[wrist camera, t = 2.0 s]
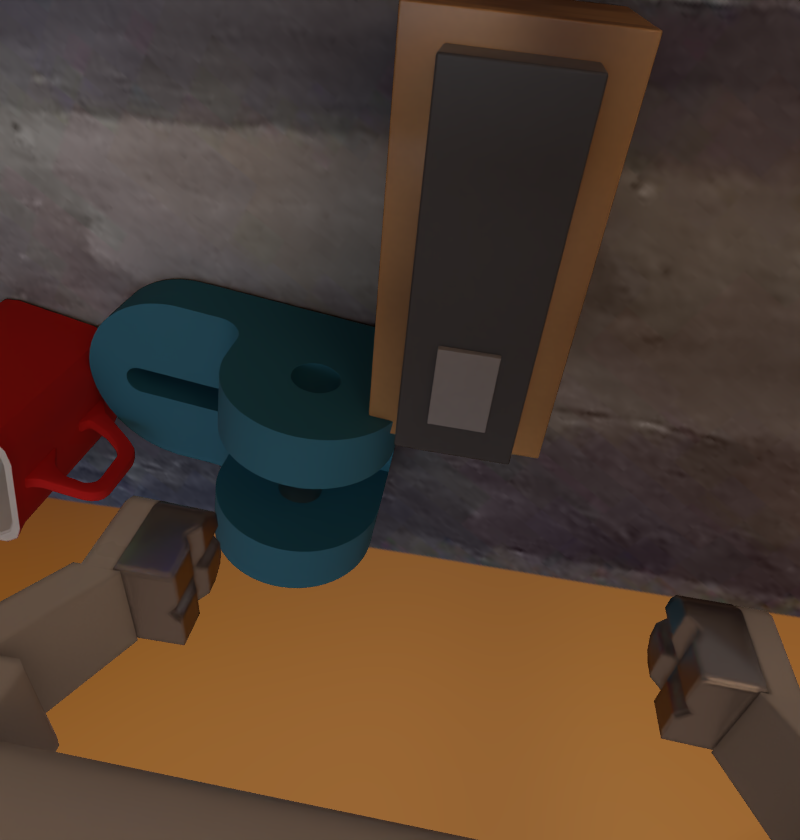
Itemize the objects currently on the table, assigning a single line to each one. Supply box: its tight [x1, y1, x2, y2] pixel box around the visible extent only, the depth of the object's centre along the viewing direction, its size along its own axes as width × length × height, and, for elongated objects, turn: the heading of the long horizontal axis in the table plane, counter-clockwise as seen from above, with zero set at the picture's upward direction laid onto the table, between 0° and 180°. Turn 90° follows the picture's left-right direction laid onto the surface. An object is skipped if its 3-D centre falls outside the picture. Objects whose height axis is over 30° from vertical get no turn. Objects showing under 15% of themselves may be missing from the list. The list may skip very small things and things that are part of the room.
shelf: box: [369, 0, 662, 458], centre depth 28 cm, size 8×17×8 cm, turn 175°
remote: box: [394, 43, 608, 464], centre depth 24 cm, size 5×15×2 cm, turn 175°
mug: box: [0, 299, 135, 541], centre depth 37 cm, size 12×8×11 cm
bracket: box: [89, 279, 395, 588], centre depth 35 cm, size 18×10×10 cm, turn 79°
